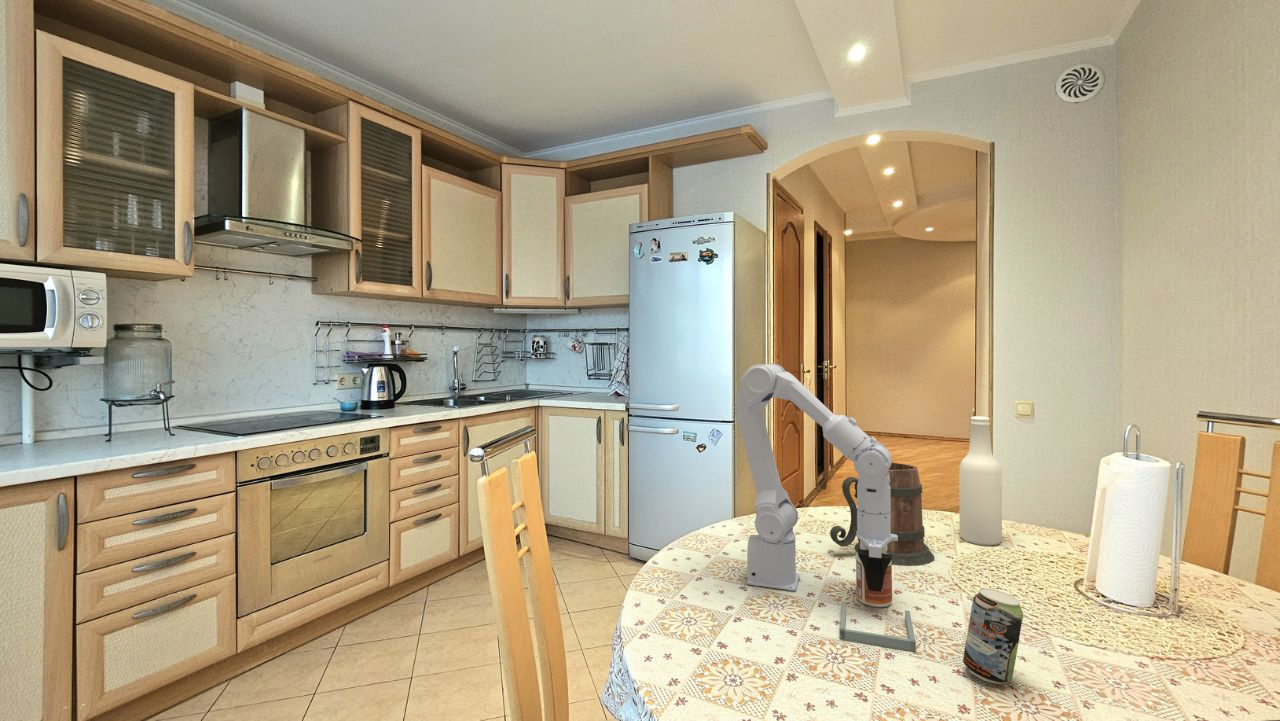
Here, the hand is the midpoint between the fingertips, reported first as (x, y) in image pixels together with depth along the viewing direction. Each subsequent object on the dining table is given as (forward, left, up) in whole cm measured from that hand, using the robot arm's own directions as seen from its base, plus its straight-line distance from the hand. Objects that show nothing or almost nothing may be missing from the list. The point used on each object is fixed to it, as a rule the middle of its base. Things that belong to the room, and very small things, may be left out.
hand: (874, 582), depth 103 cm
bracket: (0, -11, -3) cm, 12 cm away
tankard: (+2, +27, -4) cm, 27 cm away
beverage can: (+15, -20, -4) cm, 25 cm away
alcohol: (+25, +44, -4) cm, 51 cm away
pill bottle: (0, 0, -4) cm, 4 cm away
